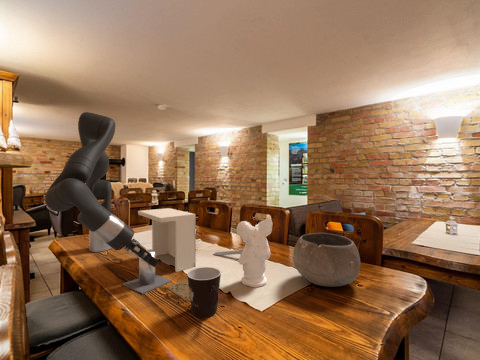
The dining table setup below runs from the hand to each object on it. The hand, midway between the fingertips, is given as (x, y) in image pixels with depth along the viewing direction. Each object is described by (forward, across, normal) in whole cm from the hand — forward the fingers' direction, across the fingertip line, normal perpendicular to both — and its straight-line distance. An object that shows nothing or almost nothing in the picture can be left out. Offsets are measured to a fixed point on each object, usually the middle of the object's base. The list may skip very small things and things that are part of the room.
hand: (151, 260), depth 82 cm
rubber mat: (+4, 0, +6) cm, 7 cm away
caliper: (+31, +2, -21) cm, 38 cm away
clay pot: (+36, -38, -26) cm, 58 cm away
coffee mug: (+7, -28, +3) cm, 29 cm away
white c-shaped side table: (+13, +15, -3) cm, 20 cm away
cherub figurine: (+25, -21, -15) cm, 36 cm away
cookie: (+11, -12, 0) cm, 16 cm away
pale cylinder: (+4, 0, +6) cm, 7 cm away
